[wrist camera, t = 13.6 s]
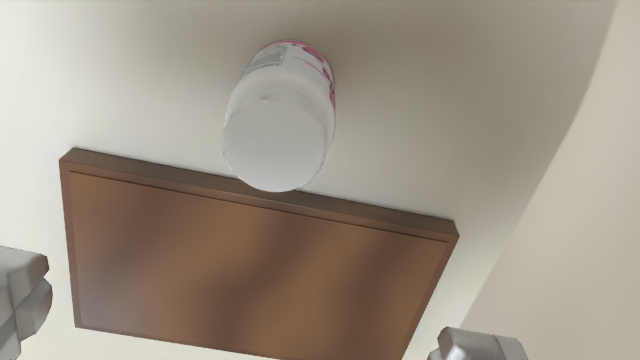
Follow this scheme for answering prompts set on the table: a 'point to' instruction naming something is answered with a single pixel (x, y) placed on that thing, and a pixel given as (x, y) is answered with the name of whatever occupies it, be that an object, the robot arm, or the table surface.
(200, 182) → the cutting board
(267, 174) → the pill bottle
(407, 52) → the table surface
